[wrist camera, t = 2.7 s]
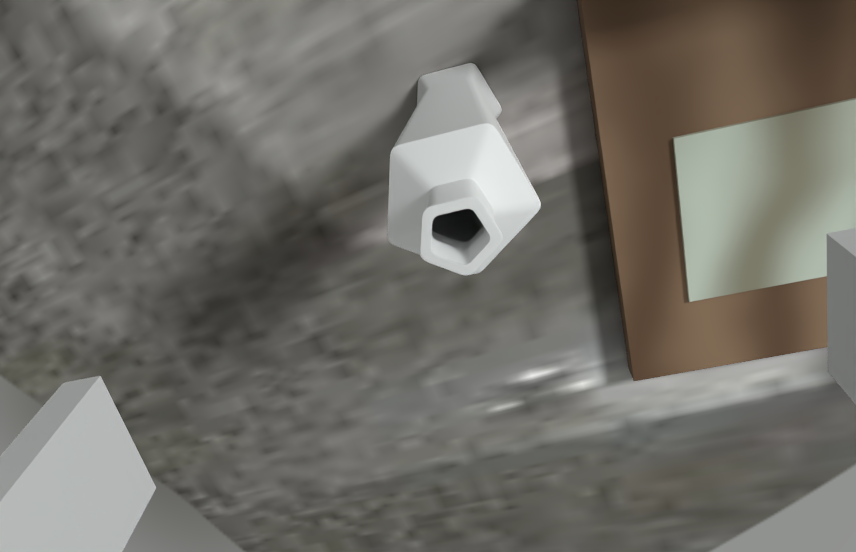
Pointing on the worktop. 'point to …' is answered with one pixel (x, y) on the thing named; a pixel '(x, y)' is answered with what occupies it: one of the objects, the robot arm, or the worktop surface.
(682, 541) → the worktop surface
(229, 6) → the worktop surface
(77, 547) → the robot arm
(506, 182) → the white faceted vase
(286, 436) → the worktop surface
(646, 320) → the brown wooden flat tray
